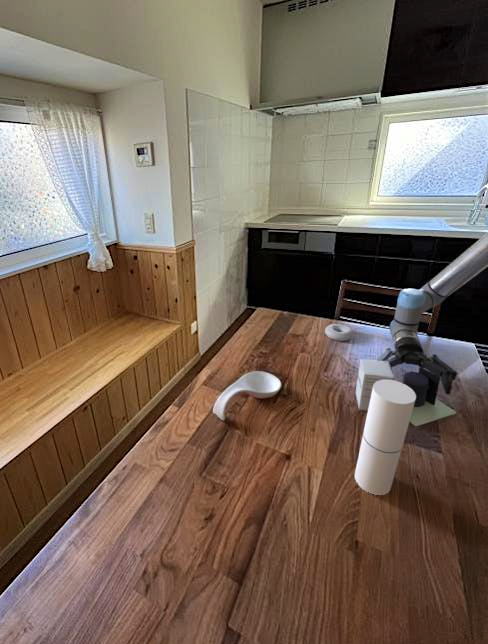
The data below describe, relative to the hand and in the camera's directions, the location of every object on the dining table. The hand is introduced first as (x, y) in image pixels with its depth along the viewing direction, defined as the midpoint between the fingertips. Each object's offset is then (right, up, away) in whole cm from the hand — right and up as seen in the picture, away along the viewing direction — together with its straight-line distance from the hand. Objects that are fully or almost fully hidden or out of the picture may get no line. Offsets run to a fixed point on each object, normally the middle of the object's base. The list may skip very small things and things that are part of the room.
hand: (419, 385), depth 93 cm
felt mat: (0, -6, +3) cm, 6 cm away
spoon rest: (-46, -7, +8) cm, 47 cm away
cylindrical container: (-23, -17, -18) cm, 34 cm away
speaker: (0, -6, +3) cm, 6 cm away
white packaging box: (-12, -6, +3) cm, 14 cm away
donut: (-5, +10, +38) cm, 40 cm away
